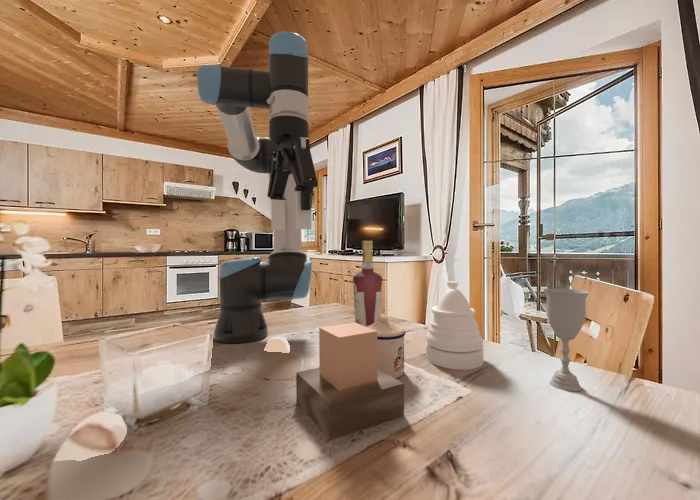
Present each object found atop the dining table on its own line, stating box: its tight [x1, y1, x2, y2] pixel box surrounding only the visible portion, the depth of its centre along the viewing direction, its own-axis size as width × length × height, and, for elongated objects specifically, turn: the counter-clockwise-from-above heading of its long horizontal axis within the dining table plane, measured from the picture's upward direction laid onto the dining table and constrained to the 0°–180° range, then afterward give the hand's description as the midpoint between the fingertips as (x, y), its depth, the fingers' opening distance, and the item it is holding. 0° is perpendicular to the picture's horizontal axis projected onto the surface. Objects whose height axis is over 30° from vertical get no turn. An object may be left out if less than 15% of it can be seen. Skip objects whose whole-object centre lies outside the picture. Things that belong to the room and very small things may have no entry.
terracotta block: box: [318, 322, 377, 390], centre depth 54 cm, size 7×7×8 cm
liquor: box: [352, 240, 383, 327], centre depth 81 cm, size 7×7×28 cm
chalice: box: [543, 288, 590, 392], centre depth 62 cm, size 7×7×18 cm
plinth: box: [295, 367, 405, 440], centre depth 54 cm, size 13×13×5 cm
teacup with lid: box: [366, 316, 406, 379], centre depth 70 cm, size 12×9×12 cm
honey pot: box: [425, 281, 484, 370], centre depth 77 cm, size 13×13×18 cm
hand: (289, 230), depth 65 cm, fingers open, 13 cm apart
